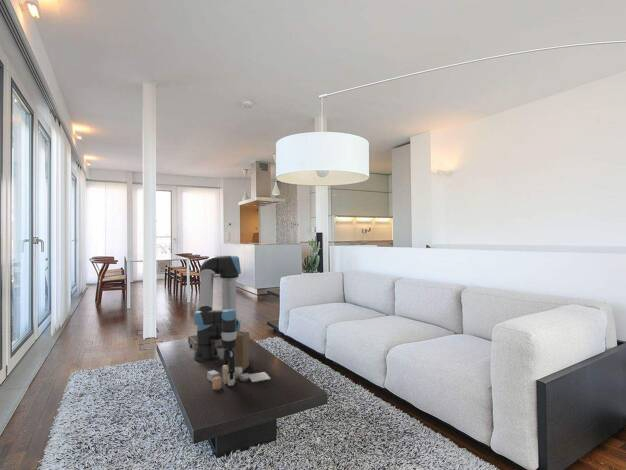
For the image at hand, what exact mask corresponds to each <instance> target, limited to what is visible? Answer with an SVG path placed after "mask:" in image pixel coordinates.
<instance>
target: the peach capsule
mask: <svg viewBox="0 0 626 470" xmlns="http://www.w3.org/2000/svg"><path fill="white" fill-rule="evenodd" d="M222 383H223V381H222V377H221V376H220V375H219V376H217V377H214V378H213V382H212V390H214V391H218V390H221V389H222V387H223V386H222Z"/></svg>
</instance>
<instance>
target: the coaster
mask: <svg viewBox="0 0 626 470" xmlns="http://www.w3.org/2000/svg"><path fill="white" fill-rule="evenodd" d="M249 380H250V381H251V383H256V382H263V381H267V380H271V377H270V376H269V374H268V373H266V371H261V372H255V373H249Z"/></svg>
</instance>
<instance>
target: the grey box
mask: <svg viewBox="0 0 626 470" xmlns="http://www.w3.org/2000/svg"><path fill="white" fill-rule="evenodd" d="M206 373H207V375H206V376H207V377H206V379H207V380H208V381H210V382H211V383H213V378H214V377H217V376H219V377H220V372H218V371H217V370H216V369H213V370H209V371H206Z"/></svg>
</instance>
